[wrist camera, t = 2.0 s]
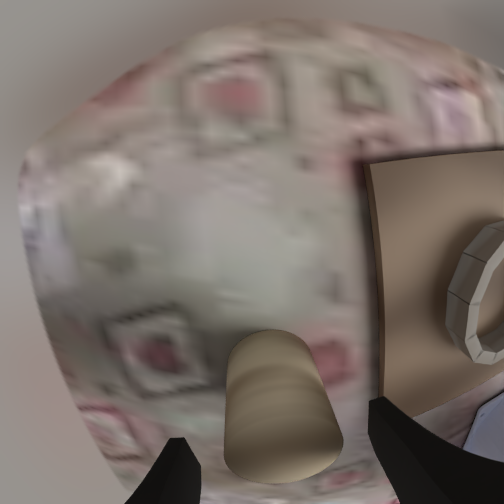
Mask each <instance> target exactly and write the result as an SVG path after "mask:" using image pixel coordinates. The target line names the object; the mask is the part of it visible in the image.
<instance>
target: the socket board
mask: <svg viewBox="0 0 504 504" xmlns="http://www.w3.org/2000/svg"><path fill="white" fill-rule="evenodd" d="M363 169H364V175H365V181H366V187H367V194H368V201H369V208H370V215H371V223H372V232H373V241H374V251H375V262H376V274H377V289H378V308H379V394H378V398H379V397H382V396H385V397H386V398H387V399H389V400H390V401H391V402H392V403H393V404H394V405H395V406H397V407H398V408H399V409H400V410H401V411H403V412H404V413H405V414H406V415H408V416H409V417H410V418H412V417H415V416H417V415H420V414H422V413H424V412H426V411H429V410H431V409H433V408H435V407H437V406H440V405H442V404H444V403H446V402H448V401H450V400H452V399H454V398H456V397H458V396H460V395H462V394H464V393H465V392H467V391H469V390H471V389H473V388H475V387H476V386H478V385H480V384H482V383H484V382H485V381H487V380H489V379H490V378H492V377H494V376H495V375H497V374H499V373H500V372H502V371H503V370H504V150H493V151H479V152H466V153H455V154H444V155H434V156H425V157H416V158H408V159H400V160H392V161H385V162H378V163H371V164H364V165H363Z"/></svg>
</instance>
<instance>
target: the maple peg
mask: <svg viewBox="0 0 504 504" xmlns="http://www.w3.org/2000/svg"><path fill="white" fill-rule="evenodd" d="M342 448H343V436H342V433H341V430H340V428H339V425H338V422H337V420H336V417H335V414H334V412H333V409H332V406H331V404H330V401H329V399H328V396H327V393H326V391H325V388H324V385H323V383H322V380H321V378H320V375H319V372H318V370H317V367H316V365H315V362H314V360H313V357H312V354H311V352H310V349H309V347H308V346H307V344H306V343H305V342H304V341H303V340H302V339H301V338H299V337H298V336H296V335H294V334H292V333H289V332H286V331H282V330H265V331H260V332H256V333H253V334H251V335H249V336H247V337H245V338H244V339H242V340H241V341H240V342H239V343H238V344H237V345H236V346H235V347H234V348H233V350H232V351H231V353H230V355H229V358H228V364H227V384H226V409H225V437H224V460H225V462H226V465H227V466H228V468H229V469H230V470H231V471H232V472H234V473H235V474H236V475H238V476H240V477H242V478H244V479H247V480H250V481H254V482H258V483H267V484H280V483H289V482H294V481H299V480H302V479H305V478H308V477H310V476H313V475H315V474H317V473H319V472H321V471H322V470H324V469H325V468H327V467H328V466H329V465H331V464H332V463H333V462H334V461H335V460H336V459H337V457H338V456H339V454H340V452H341V450H342Z"/></svg>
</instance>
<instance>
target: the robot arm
mask: <svg viewBox="0 0 504 504" xmlns="http://www.w3.org/2000/svg"><path fill="white" fill-rule="evenodd" d="M368 435H369V437H370V440H371V443H372V446H373V449H374V451H375V454H376V456H377V458H378V460H379V461H380V463H381V465H382V467H383V469H384V471H385V473H386V475H387V477H388V479H389V481H390V483H391V485H392V486H393V488H394V490H395V492H396V495H397V497H398V499H399V502H400V504H504V392H503V393H502V394H500V395H499V396H497V397H496V398H494V399H492V400H491V401H489V402H488V403H486V404H484V405H483V406H481V407H480V408H479V410H478V412H477V415H476V417H475V420H474V423H473V425H472V428H471V430H470V433H469V435H468V438H467V440H466V443H465V445H464V447H463V449H461V448H459V447H457V446H455V445H452V444H450V443H449V442H447V441H445V440H443V439H441V438H440V437H438V436H436V435H435V434H433V433H431V432H430V431H428V430H427V429H425V428H424V427H423V426H421V425H420V424H418V423H417V422H416V421H414V420H413V419H412V418H410V417H409V416H408V415H406V414H405V413H404V412H403V411H401V410H400V409H399V408H398V407H397V406H395V405H394V404H393V403H392V402H391V401H390V400H389V399H387V398H386V397H385V396H382V397H379V398H376V399H373V400H370V401H369V419H368ZM200 494H201V465H200V463H199V462H198V460H197V458H196V457H195V455H194V453H193V452H192V450H191V448H190V447H189V445H188V443H187V441H186V440H185V438H184V437H183V438H170V439H169V440H168V442H167V443H166V445H165V447H164V448H163V450H162V452H161V453H160V455H159V457H158V458H157V460H156V462H155V463H154V465H153V466H152V468H151V469H150V471H149V472H148V474H147V475H146V477H145V478H144V480H143V481H142V482H141V484H140V485H139V486H138V488H137V489H136V490H135V492H134V493H133V494H132V495H131V497H130V498H129V499H128V500H127V501H126V502H125V504H200Z"/></svg>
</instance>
